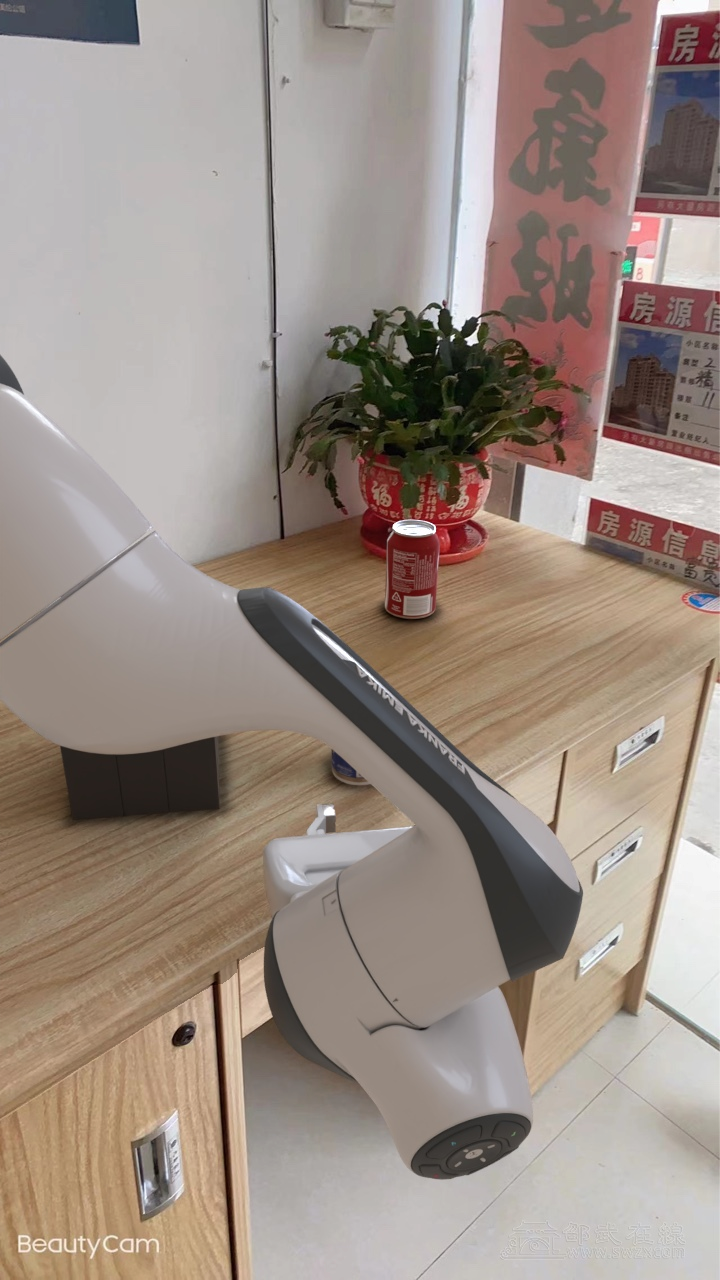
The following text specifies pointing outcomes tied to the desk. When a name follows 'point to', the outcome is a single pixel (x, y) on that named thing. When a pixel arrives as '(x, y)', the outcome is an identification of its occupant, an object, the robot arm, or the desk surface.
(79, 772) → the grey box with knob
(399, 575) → the soda can
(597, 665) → the desk surface
